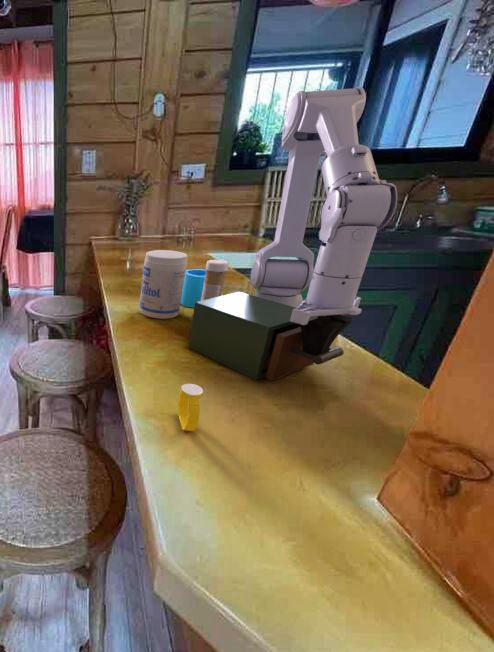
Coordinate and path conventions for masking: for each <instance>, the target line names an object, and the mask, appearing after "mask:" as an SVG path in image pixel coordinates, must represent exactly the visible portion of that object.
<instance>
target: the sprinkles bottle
mask: <svg viewBox="0 0 494 652" xmlns="http://www.w3.org/2000/svg"><path fill="white" fill-rule="evenodd" d="M229 266H230V263H229V261H227V260H223V259H209V260H207V261H206V265H205V270H206V275H205V281H204V285H203V292H202V298H201V301H203V300H207V299H211V298H215V297H220V296H224V295H223V294H224V289H225V282H226V275H227V272H228V270H229Z"/></svg>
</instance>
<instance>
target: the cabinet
mask: <svg viewBox="0 0 494 652" xmlns="http://www.w3.org/2000/svg"><path fill="white" fill-rule="evenodd" d="M293 309H295V307H292V306H288V305H285V304H281V303H277V302H274V301H270V300H267V299H263V298H260V297H256V296H255V295H252V294H248V293H245V292H241V291H238V292H233V293H228V294H224V295H222V296H220V297H215V298H211V299H207V300H203V301H198V302H195V307H194V308H193V312H192V313H193V314H192V320H191V326H190V333H189V340H188V346H187V348H188V349H189V350H192V351H193V352H196V353H198V354H200V355H201V356H204V357H206V358H208V359H210V360H213V361H215V362H216V363H219V364H221V365H223V366H225V367H227V368H229V369H232V370H234V371H236V372H237V373H240V374H242V375H244V376H247V377H248V378H251V379H253V380H255V381H258V380H260V379H263V378H266V375H267V371H268V369H266V370H264V371H261V369H262V366H263V362H264V358H265V354H266V350H267V346H268V342H269V338H270V334H271V331H273V330H276V329H279V328H283V327H286V326H289V325H292V324H295V323H294V322H291V321H290V319H291V315H292V311H293Z"/></svg>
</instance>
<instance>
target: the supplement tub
mask: <svg viewBox="0 0 494 652" xmlns="http://www.w3.org/2000/svg"><path fill="white" fill-rule="evenodd" d="M187 265H188V254H187V253H185V252H182V251H178V250H171V249H170V250H169V249H154V250H148V251H147V252H146V253H145V258H144V262H143V268H142V279H141V287H140V295H139V296H140V297H139V305H138V310H139V312H140V314H142V315H144V316H146V317H148V318H151V319H152V318H153V319H160V320H168V319H173V318H175V317H177V316H178V315H179V313H180V308H181V297H182V291H183V285H184V279H185V273H186V270H187Z"/></svg>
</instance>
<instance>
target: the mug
mask: <svg viewBox="0 0 494 652" xmlns="http://www.w3.org/2000/svg"><path fill="white" fill-rule="evenodd" d="M205 275H206V268H205V269H203V268H192V269H186V273H185V279H184V285H183V291H182V297H181V303H180V305H182V306H184V307H187V308H192V309H194V307H195V302H198V301H201V298H202V292H203V285H204V281H205Z"/></svg>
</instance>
